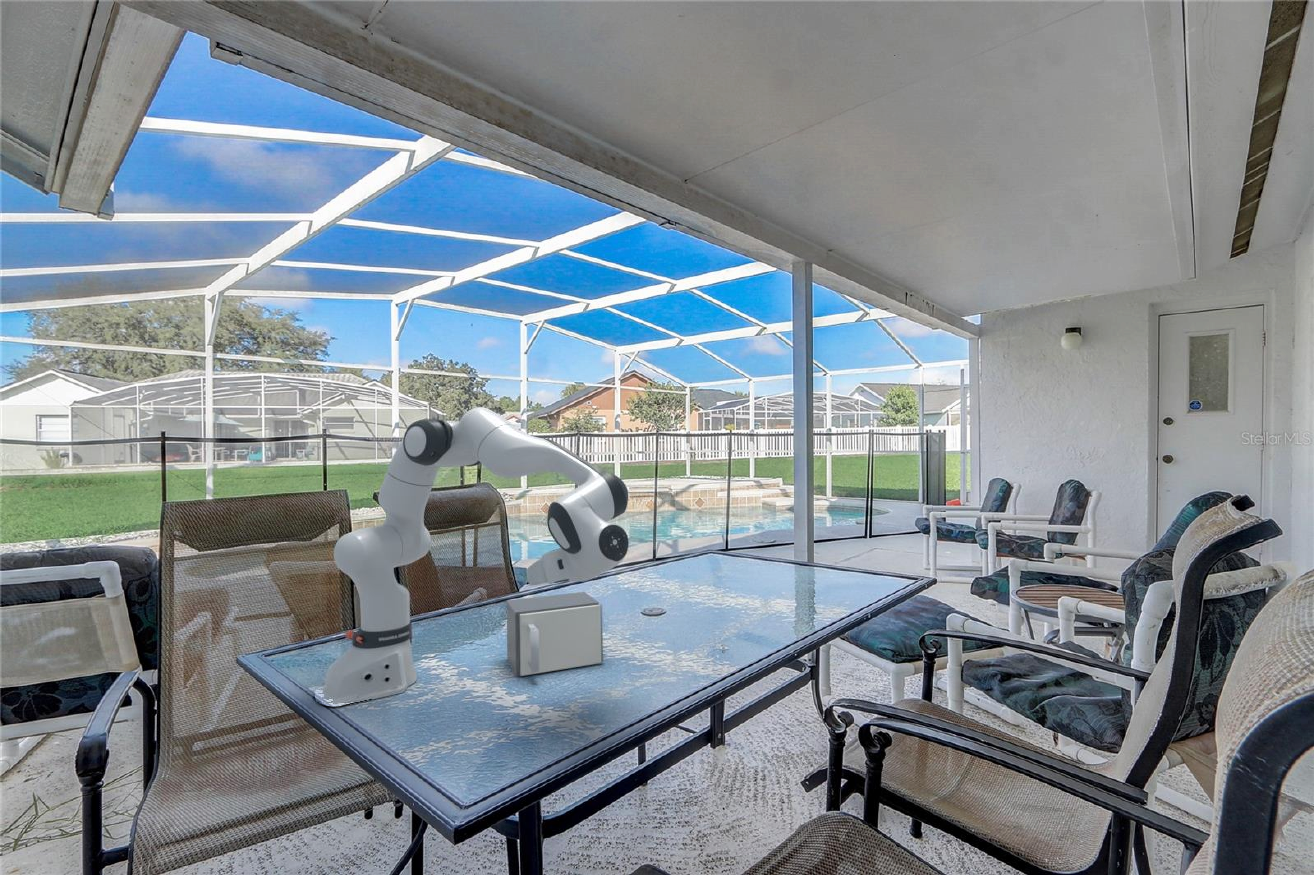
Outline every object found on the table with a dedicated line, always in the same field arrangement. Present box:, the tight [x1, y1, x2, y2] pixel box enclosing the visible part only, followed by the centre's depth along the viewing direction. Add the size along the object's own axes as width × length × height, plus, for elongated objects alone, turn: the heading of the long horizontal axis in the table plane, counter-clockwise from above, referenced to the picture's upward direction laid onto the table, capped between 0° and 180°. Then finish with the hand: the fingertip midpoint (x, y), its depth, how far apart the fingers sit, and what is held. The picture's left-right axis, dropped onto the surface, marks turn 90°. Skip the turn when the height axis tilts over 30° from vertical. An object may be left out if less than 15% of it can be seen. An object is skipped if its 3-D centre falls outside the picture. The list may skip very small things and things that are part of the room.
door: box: [519, 604, 604, 677], centre depth 149 cm, size 22×7×15 cm, turn 113°
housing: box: [506, 591, 600, 677], centre depth 159 cm, size 22×14×16 cm, turn 113°
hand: (560, 572), depth 139 cm, fingers open, 8 cm apart
